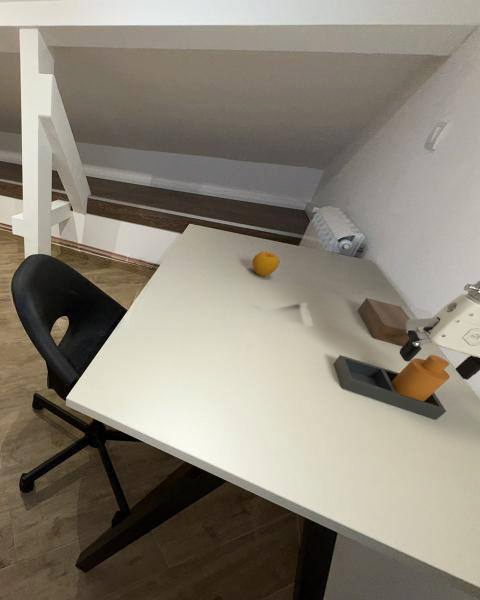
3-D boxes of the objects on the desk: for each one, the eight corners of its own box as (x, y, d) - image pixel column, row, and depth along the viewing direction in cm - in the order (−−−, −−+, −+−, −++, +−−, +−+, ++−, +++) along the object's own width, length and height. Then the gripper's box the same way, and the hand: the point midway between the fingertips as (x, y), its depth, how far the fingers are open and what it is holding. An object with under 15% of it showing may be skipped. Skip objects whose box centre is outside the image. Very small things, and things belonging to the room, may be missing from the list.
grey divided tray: (331, 365, 78) (339, 354, 76) (416, 392, 73) (426, 381, 71) (340, 390, 71) (349, 379, 69) (433, 421, 66) (446, 411, 64)
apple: (243, 270, 120) (252, 249, 115) (258, 267, 123) (268, 247, 118) (260, 281, 113) (271, 259, 108) (277, 278, 116) (288, 257, 111)
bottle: (412, 392, 72) (450, 356, 65) (424, 411, 67) (465, 375, 61) (381, 382, 74) (415, 346, 67) (390, 400, 69) (427, 363, 63)
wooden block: (390, 319, 99) (400, 306, 97) (410, 348, 87) (423, 335, 84) (357, 310, 102) (366, 297, 99) (372, 337, 90) (383, 324, 87)
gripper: (451, 292, 55) (388, 361, 65) (586, 325, 50) (496, 395, 59) (432, 275, 61) (376, 341, 70) (550, 303, 56) (473, 370, 65)
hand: (431, 365), depth 65 cm, fingers open, 9 cm apart
